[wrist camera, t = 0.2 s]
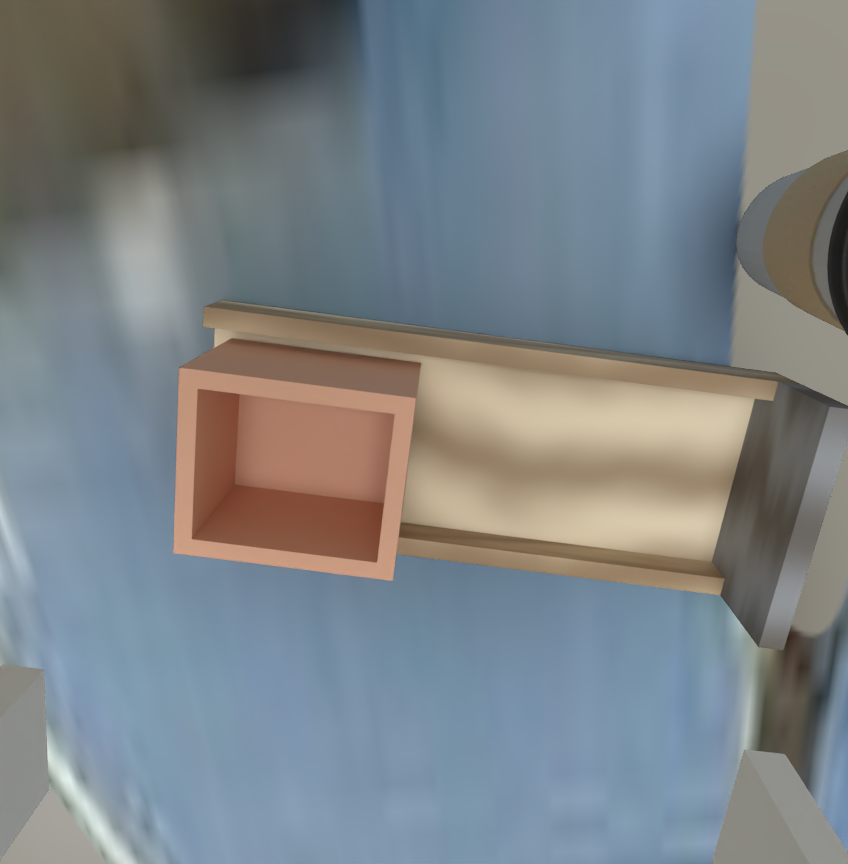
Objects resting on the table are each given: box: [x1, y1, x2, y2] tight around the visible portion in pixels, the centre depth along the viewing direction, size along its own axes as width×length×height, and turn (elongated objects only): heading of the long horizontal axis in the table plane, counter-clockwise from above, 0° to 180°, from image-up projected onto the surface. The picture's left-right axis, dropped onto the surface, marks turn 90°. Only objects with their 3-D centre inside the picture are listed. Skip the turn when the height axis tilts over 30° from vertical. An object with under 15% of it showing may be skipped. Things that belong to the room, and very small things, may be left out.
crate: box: [173, 338, 421, 581], centre depth 35 cm, size 9×10×8 cm
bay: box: [203, 300, 848, 650], centre depth 37 cm, size 12×30×8 cm, turn 83°
